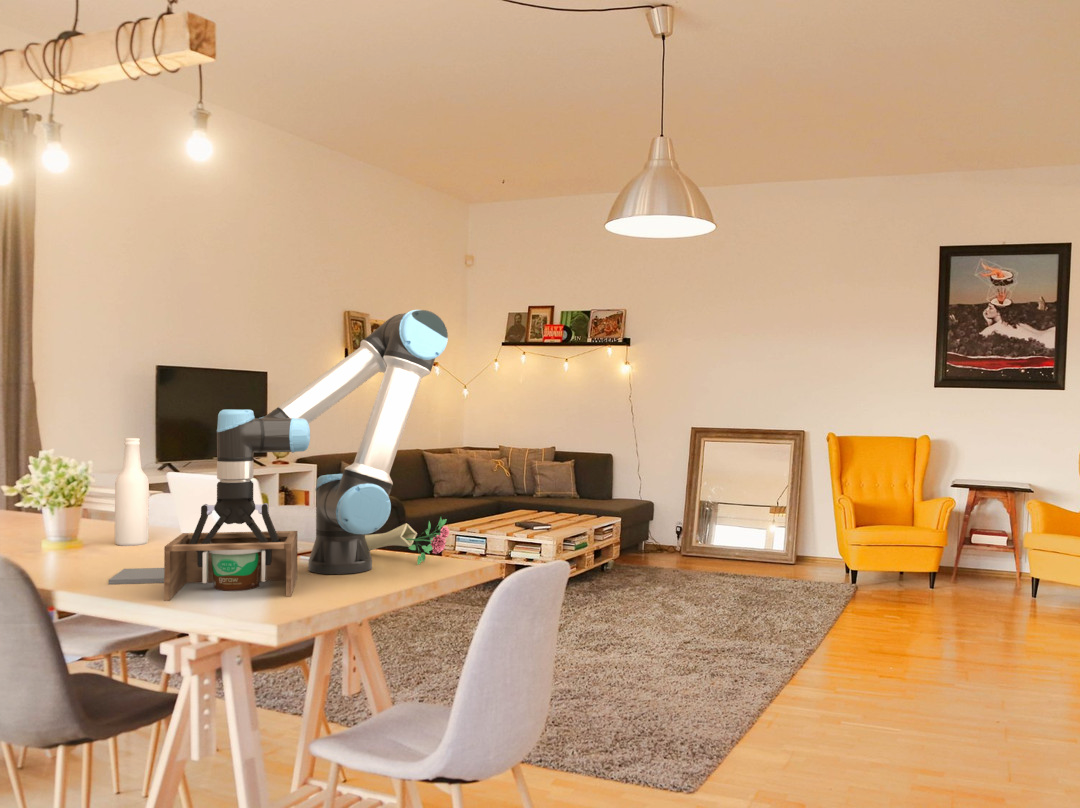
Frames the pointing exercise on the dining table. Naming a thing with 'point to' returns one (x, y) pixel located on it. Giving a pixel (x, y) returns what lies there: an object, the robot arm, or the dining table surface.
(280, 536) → the access cubby
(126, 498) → the alcohol
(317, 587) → the dining table surface
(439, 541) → the flower vase
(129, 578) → the mat
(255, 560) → the food container
